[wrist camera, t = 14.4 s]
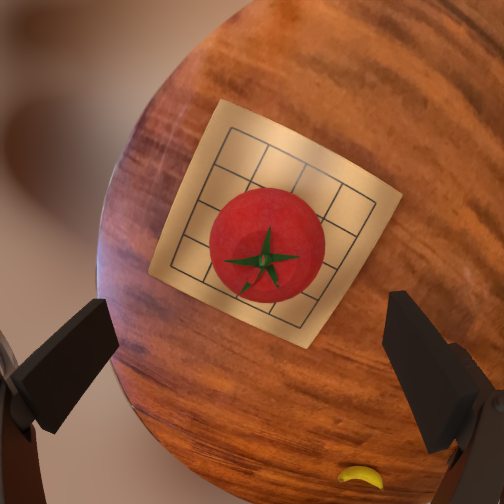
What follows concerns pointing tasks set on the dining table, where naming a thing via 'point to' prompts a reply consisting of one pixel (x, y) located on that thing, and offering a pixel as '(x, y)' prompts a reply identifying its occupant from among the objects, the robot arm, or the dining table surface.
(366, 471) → the fruit
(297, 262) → the tomato
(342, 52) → the dining table surface
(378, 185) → the board
